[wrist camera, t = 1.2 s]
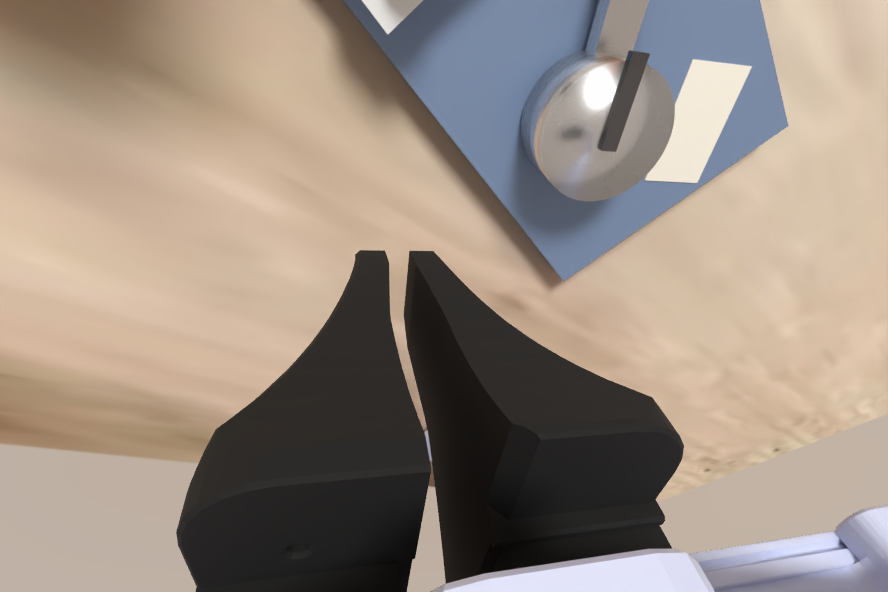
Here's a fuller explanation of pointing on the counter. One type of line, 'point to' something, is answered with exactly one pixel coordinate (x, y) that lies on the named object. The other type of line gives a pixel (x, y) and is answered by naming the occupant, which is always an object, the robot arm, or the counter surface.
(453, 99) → the plate
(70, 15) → the counter surface
